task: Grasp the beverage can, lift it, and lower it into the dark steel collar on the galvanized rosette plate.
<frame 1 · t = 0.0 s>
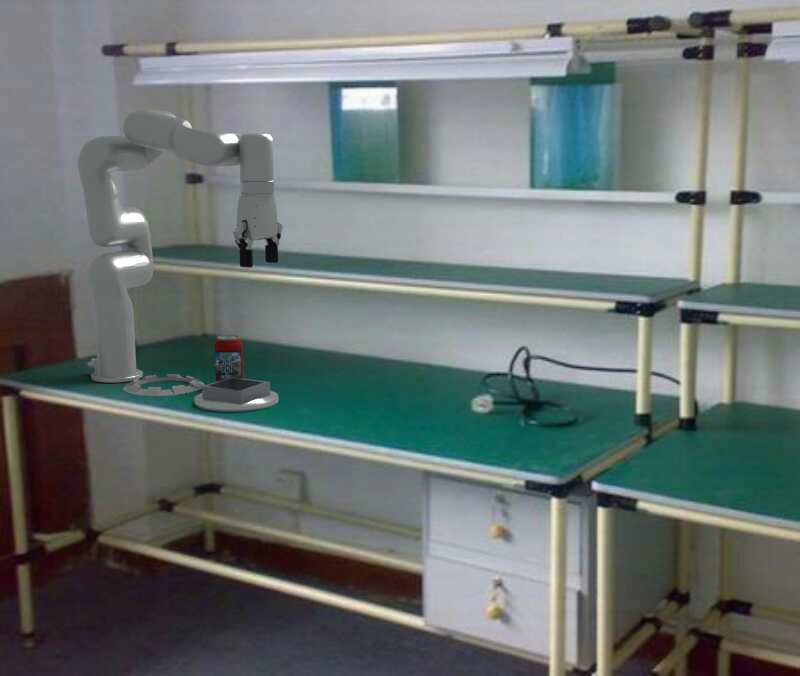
hand: (259, 264, 258), 31 cm above the workbench, tool pointing down, fingers open, 9 cm apart
beverage can: (229, 386, 277), on the workbench
ring: (164, 389, 276), on the workbench
rosette plate: (236, 401, 260), on the workbench
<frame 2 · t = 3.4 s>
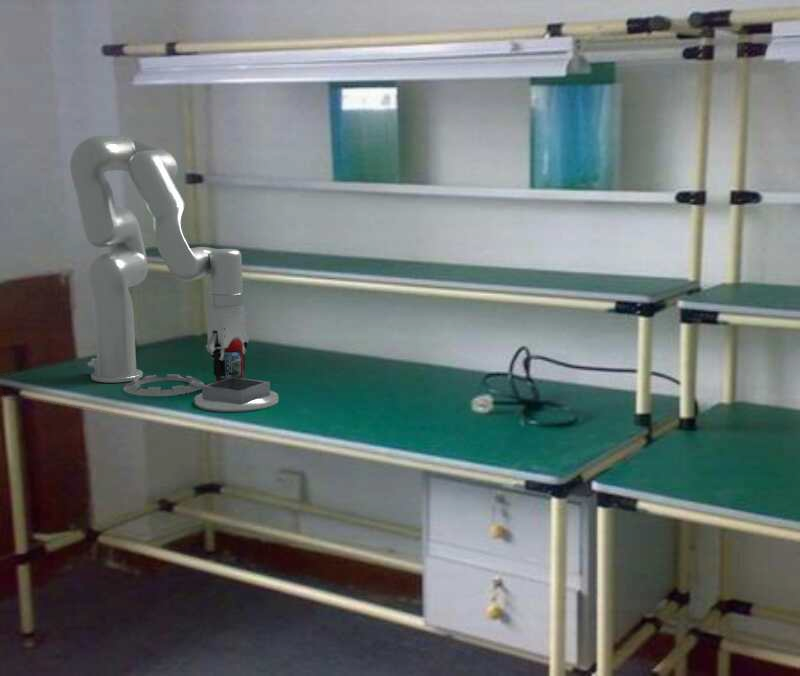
hand: (229, 372, 277), 3 cm above the workbench, tool pointing down, fingers closed on beverage can, 6 cm apart
beverage can: (229, 386, 277), on the workbench, touching gripper
everything else where it was.
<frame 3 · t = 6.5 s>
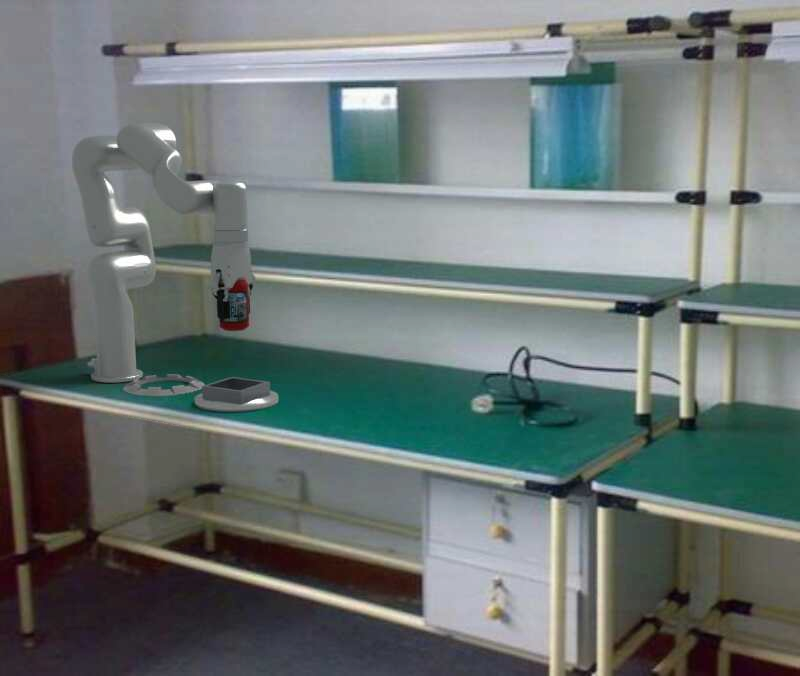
hand: (233, 315, 258), 20 cm above the workbench, tool pointing down, fingers closed on beverage can, 6 cm apart
beverage can: (234, 330, 259), point 16 cm above the workbench, touching gripper
everything else where it was.
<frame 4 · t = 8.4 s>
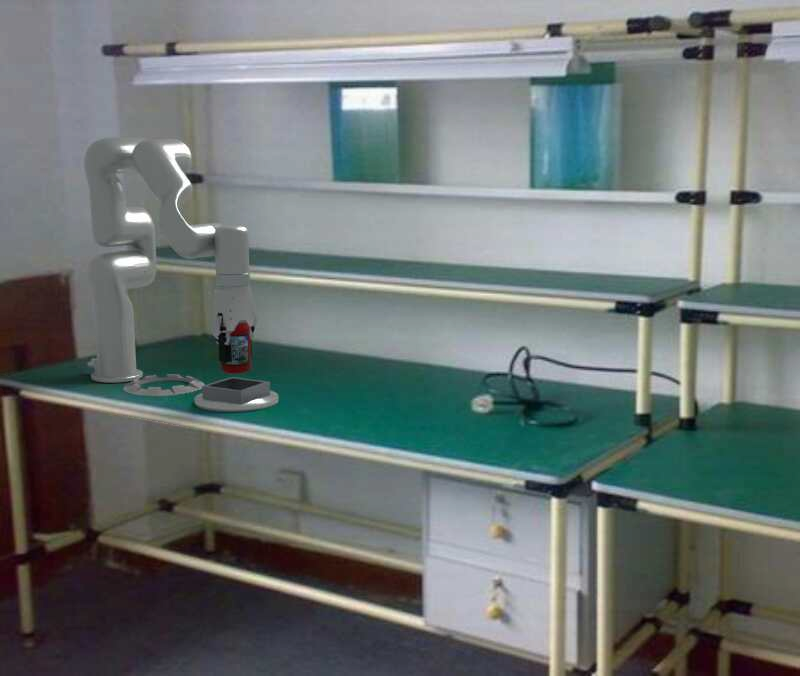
hand: (235, 357, 258), 10 cm above the workbench, tool pointing down, fingers closed on beverage can, 6 cm apart
beverage can: (236, 372, 259), point 7 cm above the workbench, touching gripper
everything else where it was.
when the fingers open (6 cm above the workbench, at t = 9.9 s): beverage can drops 1 cm, resting on rosette plate.
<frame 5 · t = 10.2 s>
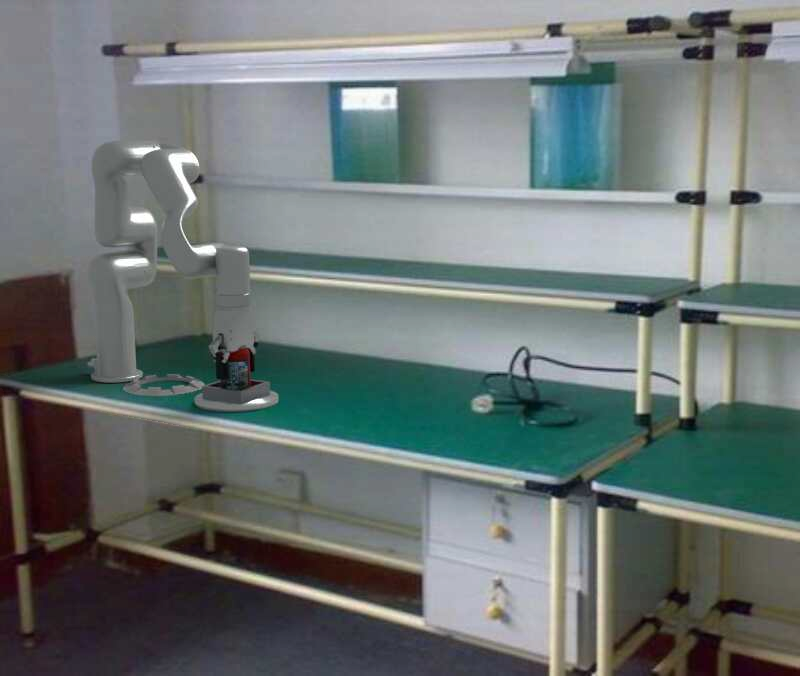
hand: (235, 375, 259), 6 cm above the workbench, tool pointing down, fingers open, 9 cm apart
beverage can: (236, 397, 260), point 1 cm above the workbench, touching rosette plate
everything else where it was.
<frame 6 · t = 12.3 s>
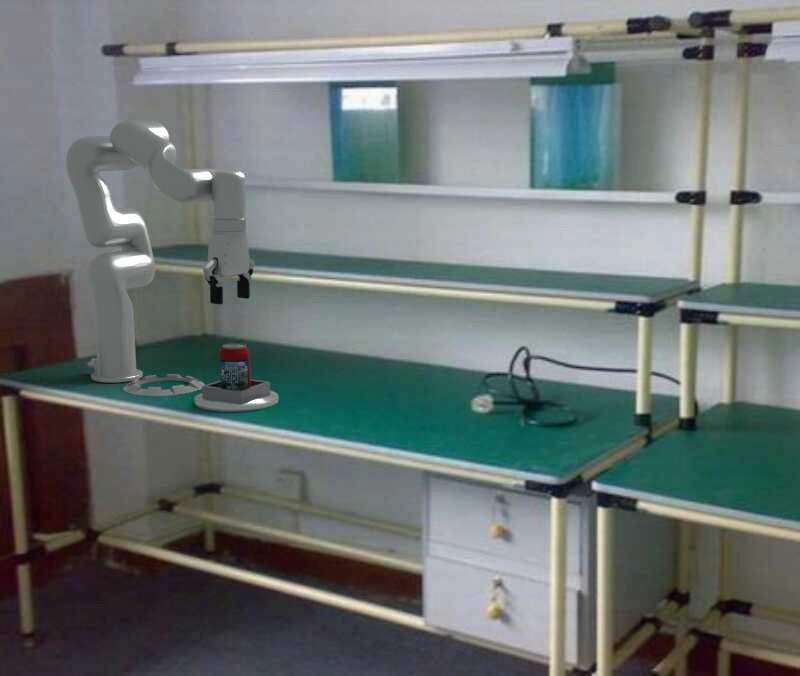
hand: (230, 300, 260), 23 cm above the workbench, tool pointing down, fingers open, 9 cm apart
nothing on the workbench moved.
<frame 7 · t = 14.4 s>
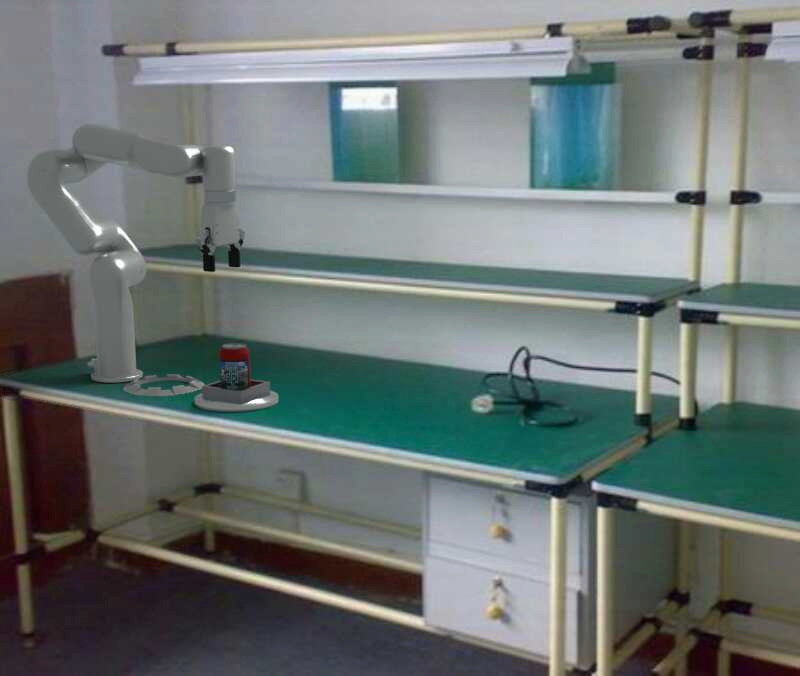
hand: (222, 269, 274), 28 cm above the workbench, tool pointing down, fingers open, 9 cm apart
nothing on the workbench moved.
at the end: beverage can 0.2 cm off-centre on the rosette plate, point 1.0 cm above the rosette plate's base; beverage can tilted 0°; the gripper is holding nothing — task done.
